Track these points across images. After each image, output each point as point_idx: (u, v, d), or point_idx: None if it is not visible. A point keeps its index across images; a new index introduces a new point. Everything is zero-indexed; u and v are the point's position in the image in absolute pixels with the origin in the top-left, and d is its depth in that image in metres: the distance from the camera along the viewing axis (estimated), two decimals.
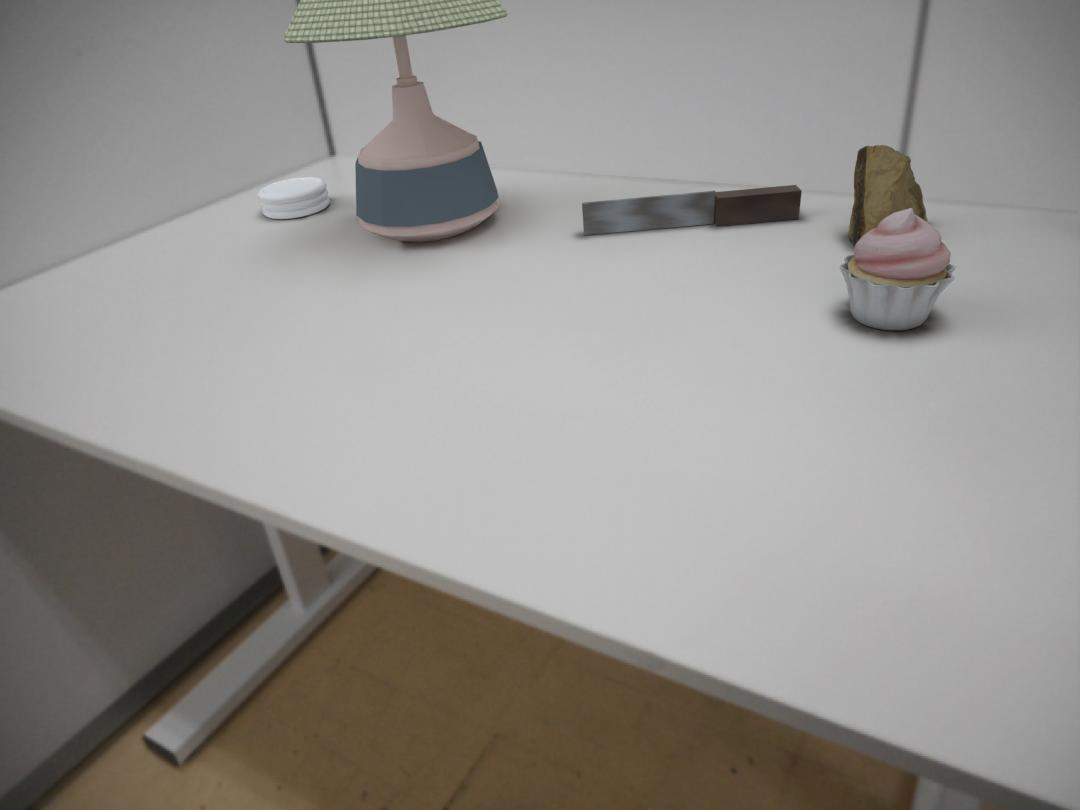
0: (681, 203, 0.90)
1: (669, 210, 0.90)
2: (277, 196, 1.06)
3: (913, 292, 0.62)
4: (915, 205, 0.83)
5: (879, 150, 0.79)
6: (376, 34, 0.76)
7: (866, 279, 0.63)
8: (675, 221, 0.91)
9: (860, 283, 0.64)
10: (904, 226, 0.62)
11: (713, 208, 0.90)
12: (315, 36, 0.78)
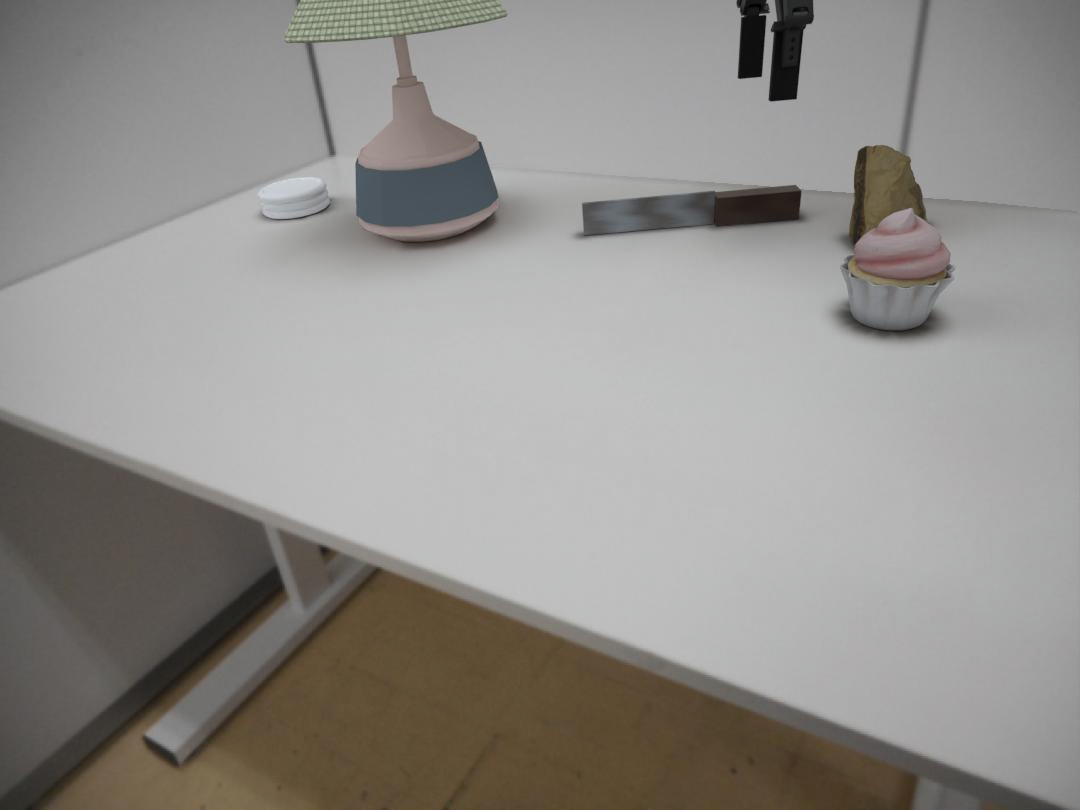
0: (681, 203, 0.90)
1: (669, 210, 0.90)
2: (277, 196, 1.06)
3: (913, 292, 0.62)
4: (915, 205, 0.83)
5: (879, 150, 0.79)
6: (376, 34, 0.76)
7: (866, 279, 0.63)
8: (675, 221, 0.91)
9: (860, 283, 0.64)
10: (904, 226, 0.62)
11: (713, 208, 0.90)
12: (315, 36, 0.78)
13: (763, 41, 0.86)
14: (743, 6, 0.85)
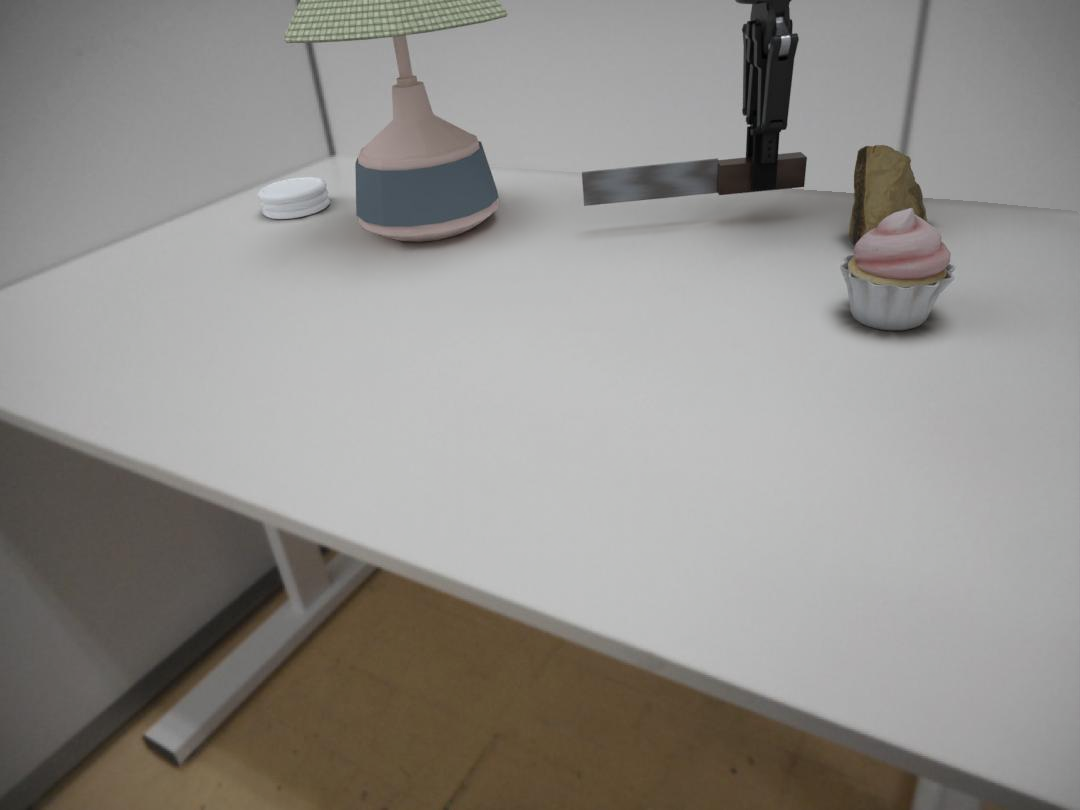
0: (683, 171, 0.88)
1: (671, 179, 0.88)
2: (277, 196, 1.06)
3: (913, 292, 0.62)
4: (915, 205, 0.83)
5: (879, 150, 0.79)
6: (376, 34, 0.76)
7: (866, 279, 0.63)
8: (677, 190, 0.89)
9: (860, 283, 0.64)
10: (904, 226, 0.62)
11: (716, 176, 0.88)
12: (315, 36, 0.78)
13: None
14: (748, 113, 0.86)
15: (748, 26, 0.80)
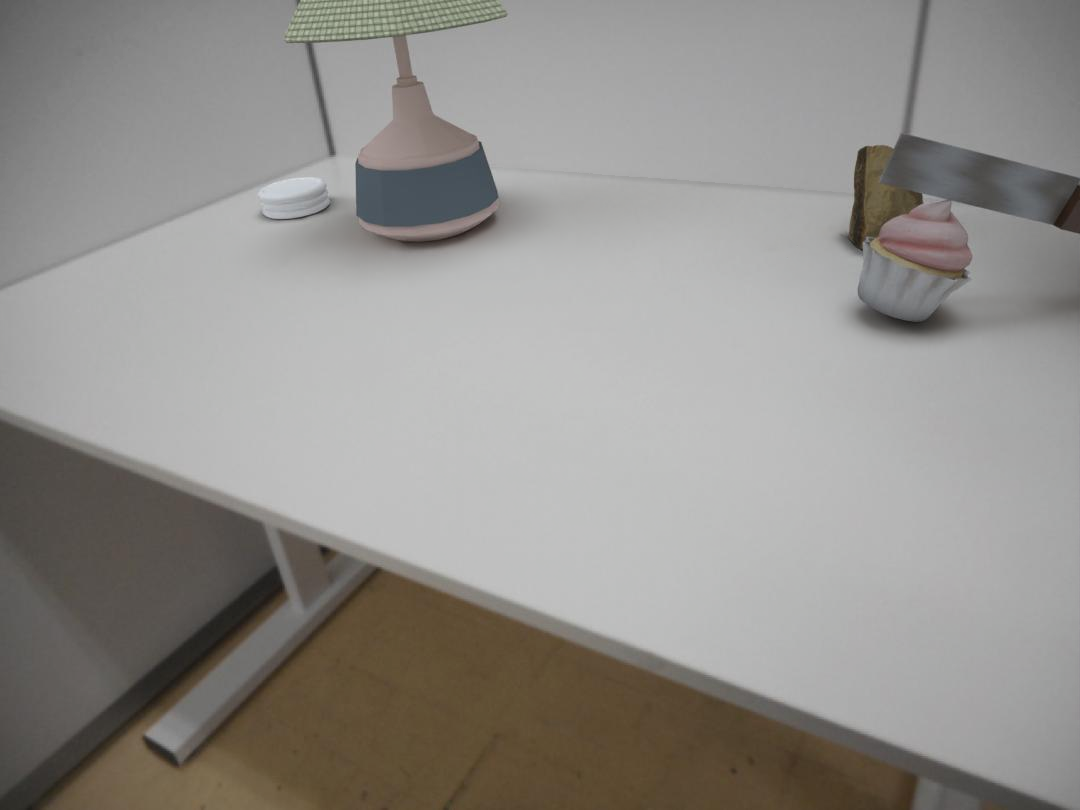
0: (1030, 180, 0.61)
1: (1009, 185, 0.61)
2: (277, 196, 1.06)
3: (932, 282, 0.61)
4: (915, 205, 0.83)
5: (879, 150, 0.79)
6: (376, 34, 0.76)
7: (889, 258, 0.62)
8: (1007, 204, 0.62)
9: (882, 261, 0.63)
10: (940, 215, 0.61)
11: (1065, 202, 0.62)
12: (315, 36, 0.78)
13: None
14: None
15: None
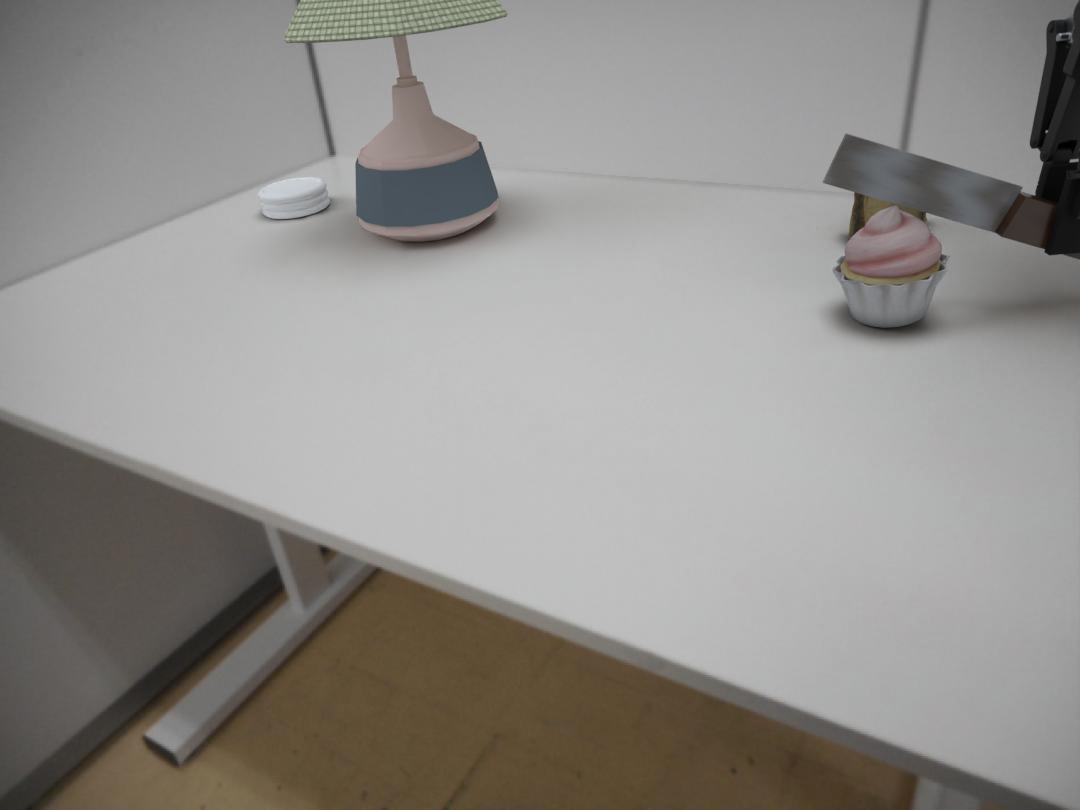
0: (972, 187, 0.61)
1: (952, 191, 0.61)
2: (277, 196, 1.06)
3: (907, 288, 0.62)
4: None
5: None
6: (376, 34, 0.76)
7: (859, 280, 0.63)
8: (949, 210, 0.62)
9: (854, 285, 0.64)
10: (891, 224, 0.62)
11: (1006, 210, 0.62)
12: (315, 36, 0.78)
13: None
14: (1049, 146, 0.61)
15: None
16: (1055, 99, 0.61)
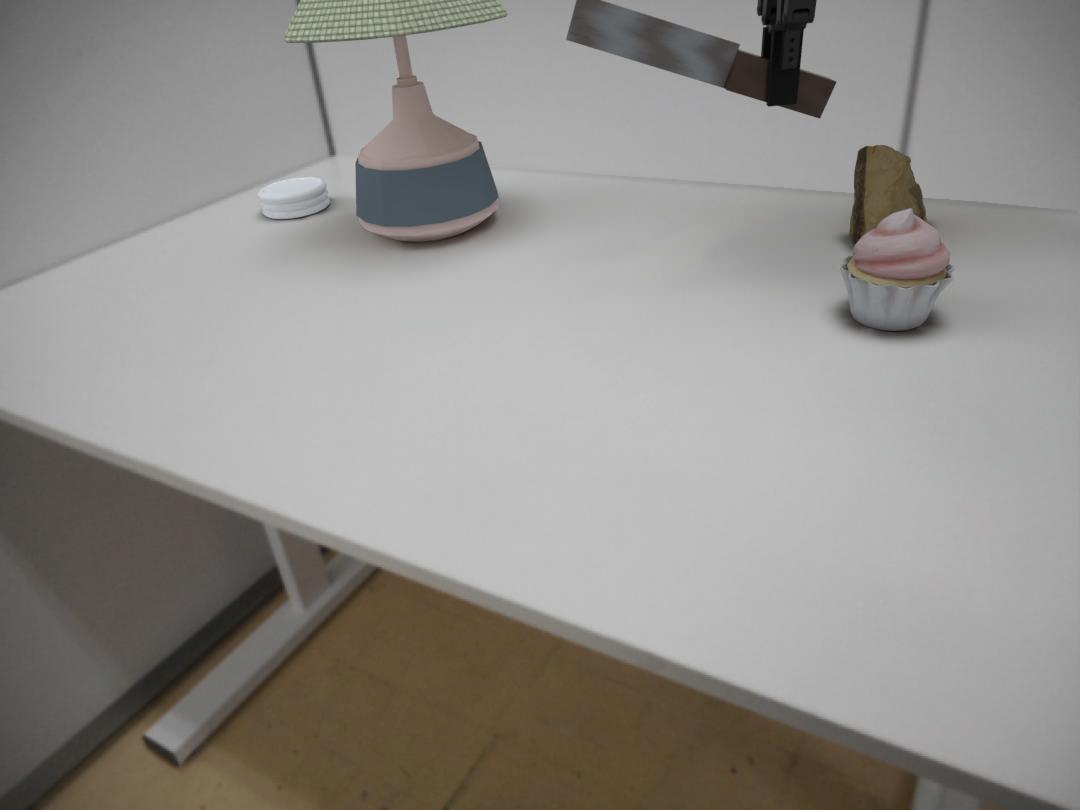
0: (696, 44, 0.70)
1: (679, 47, 0.70)
2: (277, 196, 1.06)
3: (913, 292, 0.62)
4: (915, 205, 0.83)
5: (879, 150, 0.79)
6: (376, 34, 0.76)
7: (866, 280, 0.63)
8: (680, 66, 0.71)
9: (860, 284, 0.64)
10: (904, 227, 0.62)
11: (730, 66, 0.71)
12: (315, 36, 0.78)
13: None
14: (765, 10, 0.71)
15: None
16: None
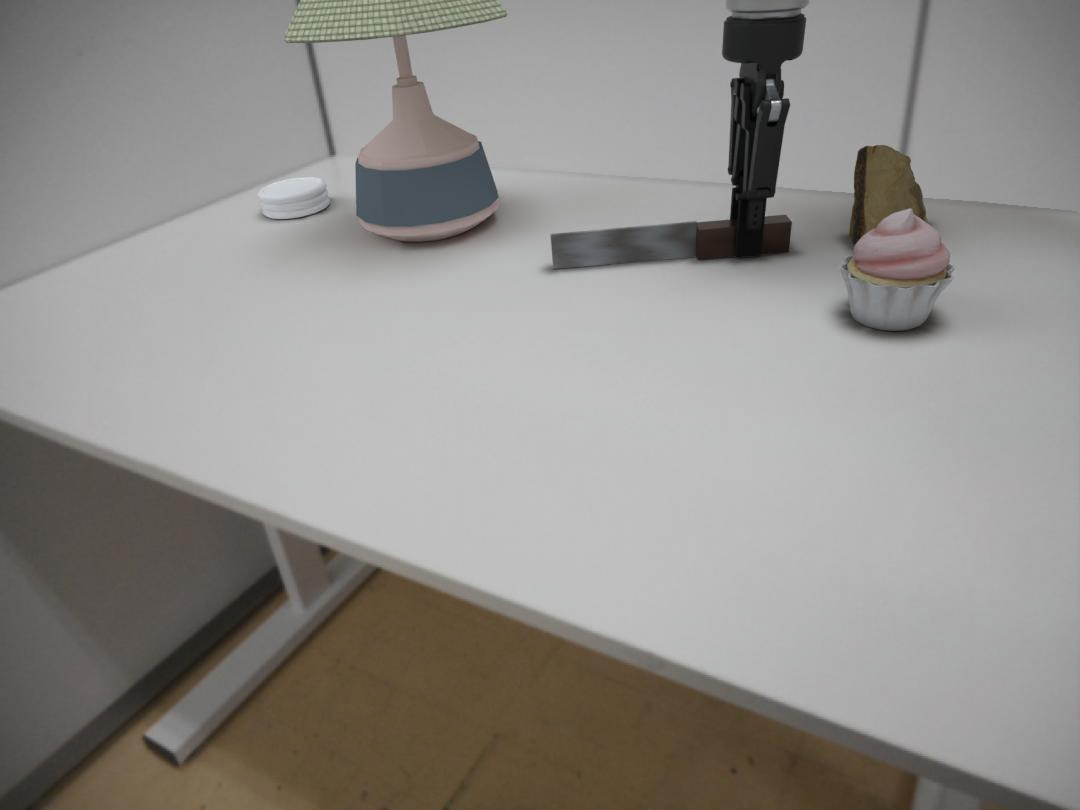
0: (660, 235, 0.81)
1: (646, 242, 0.82)
2: (277, 196, 1.06)
3: (913, 292, 0.62)
4: (915, 205, 0.83)
5: (879, 150, 0.79)
6: (376, 34, 0.76)
7: (865, 280, 0.63)
8: (653, 254, 0.83)
9: (860, 284, 0.64)
10: (904, 227, 0.62)
11: (695, 240, 0.82)
12: (315, 36, 0.78)
13: None
14: (734, 174, 0.80)
15: (736, 84, 0.74)
16: None
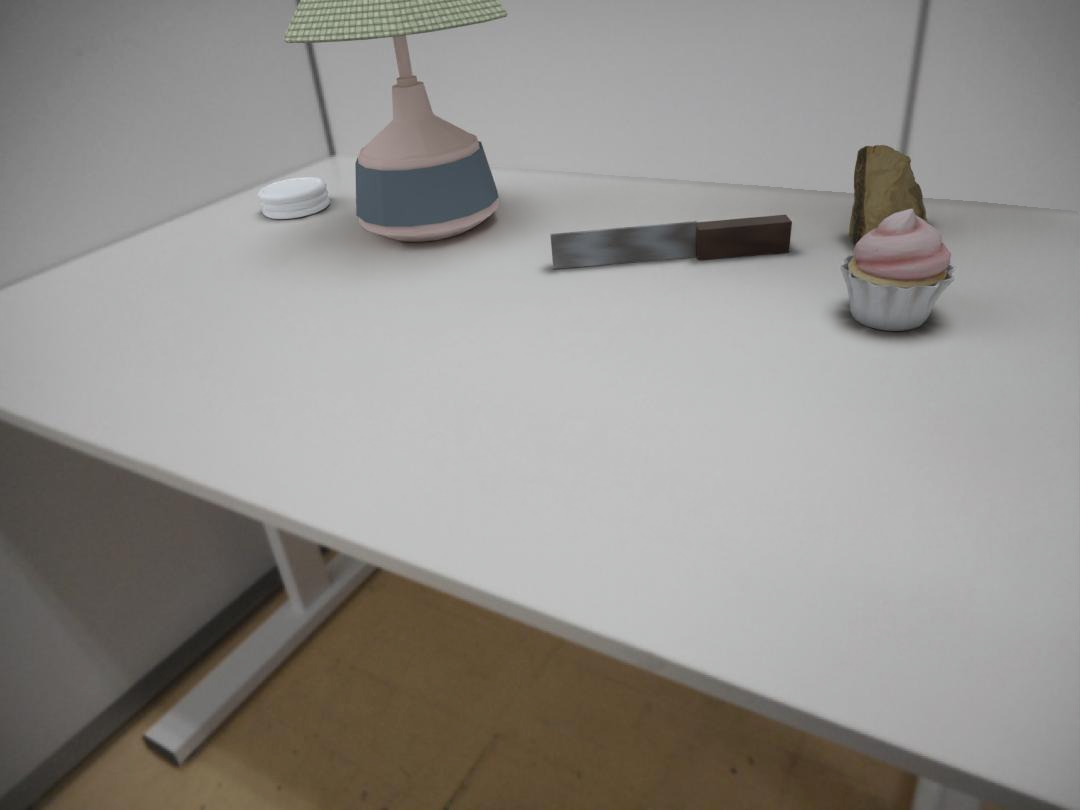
0: (660, 235, 0.81)
1: (646, 242, 0.82)
2: (277, 196, 1.06)
3: (913, 293, 0.62)
4: (915, 205, 0.83)
5: (879, 150, 0.79)
6: (376, 34, 0.76)
7: (866, 279, 0.63)
8: (653, 254, 0.83)
9: (860, 283, 0.64)
10: (905, 227, 0.62)
11: (695, 240, 0.82)
12: (315, 36, 0.78)
13: None
14: None
15: None
16: None
